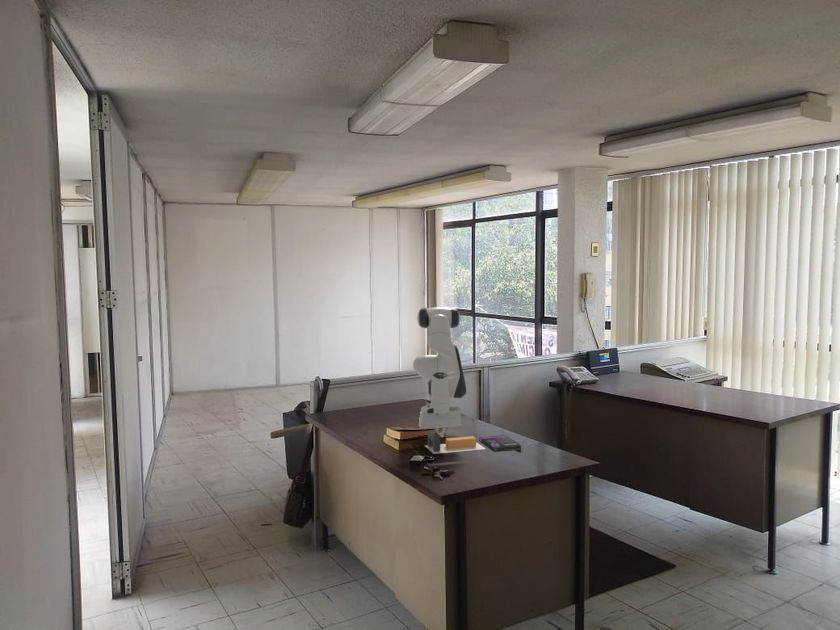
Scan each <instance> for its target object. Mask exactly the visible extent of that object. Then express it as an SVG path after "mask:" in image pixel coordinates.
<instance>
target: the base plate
mask: <svg viewBox="0 0 840 630" xmlns="http://www.w3.org/2000/svg"><path fill="white" fill-rule="evenodd" d="M424 447H425V448H427V450H429V451H430V452H431V453H432V454H448V453H453V452H454V453H458V452H469V451H478V450H486V448H485V447H484V446H483V445H481V444H479V443H478V442H477V441H476V447H466V448H455V449H448V448H446V443H440V451H435V452H434V451H433V447H428V444H427V445H424Z"/></svg>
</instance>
